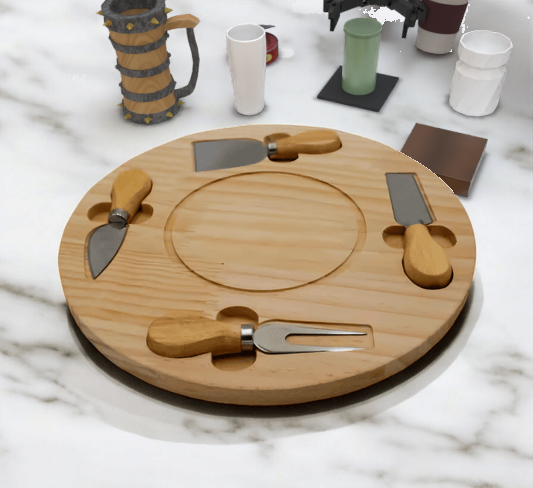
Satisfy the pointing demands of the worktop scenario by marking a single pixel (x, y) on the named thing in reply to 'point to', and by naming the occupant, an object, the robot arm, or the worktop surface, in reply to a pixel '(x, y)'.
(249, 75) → the drinking glass
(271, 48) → the canned food
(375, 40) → the tumbler
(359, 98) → the mat
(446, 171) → the display stand
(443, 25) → the coffee cup
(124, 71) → the mug
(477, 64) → the vase
